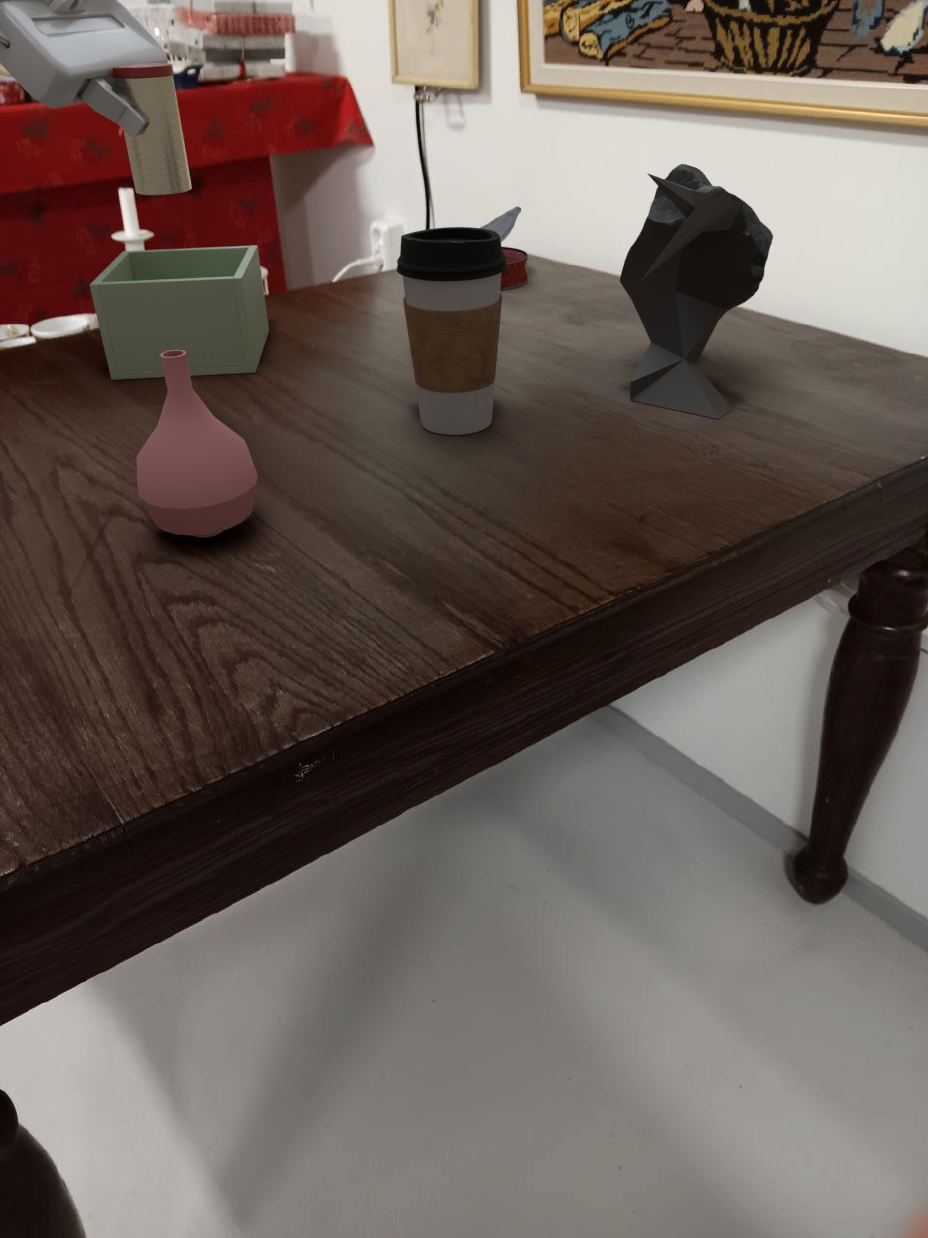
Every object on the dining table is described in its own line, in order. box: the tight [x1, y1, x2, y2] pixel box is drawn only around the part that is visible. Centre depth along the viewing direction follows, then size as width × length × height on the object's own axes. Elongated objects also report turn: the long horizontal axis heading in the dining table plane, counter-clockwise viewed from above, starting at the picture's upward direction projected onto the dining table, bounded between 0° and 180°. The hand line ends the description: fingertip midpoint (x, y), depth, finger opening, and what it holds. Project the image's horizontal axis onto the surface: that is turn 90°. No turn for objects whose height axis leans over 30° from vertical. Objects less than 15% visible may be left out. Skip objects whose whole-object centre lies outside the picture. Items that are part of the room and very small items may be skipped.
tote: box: [89, 244, 270, 381], centre depth 94 cm, size 14×14×9 cm
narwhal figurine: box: [619, 163, 774, 420], centre depth 82 cm, size 14×15×18 cm
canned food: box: [480, 205, 529, 291], centre depth 117 cm, size 11×10×10 cm
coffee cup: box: [396, 226, 507, 436], centre depth 76 cm, size 8×8×15 cm
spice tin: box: [112, 62, 193, 196], centre depth 85 cm, size 5×5×10 cm
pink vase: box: [135, 350, 259, 538], centre depth 61 cm, size 8×8×12 cm
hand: (158, 125), depth 85 cm, fingers closed on spice tin, 5 cm apart
